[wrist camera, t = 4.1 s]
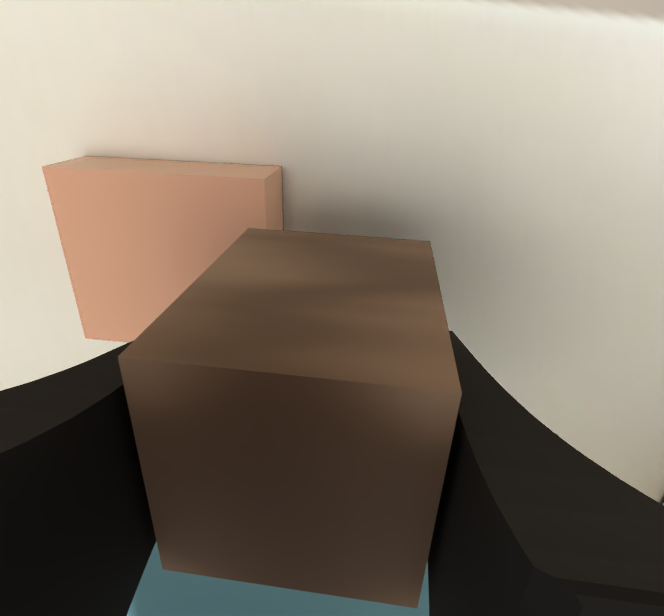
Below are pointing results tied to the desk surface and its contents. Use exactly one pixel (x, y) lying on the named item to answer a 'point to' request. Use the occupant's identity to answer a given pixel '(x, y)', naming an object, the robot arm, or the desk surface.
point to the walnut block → (299, 415)
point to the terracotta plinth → (150, 230)
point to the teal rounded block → (247, 598)
